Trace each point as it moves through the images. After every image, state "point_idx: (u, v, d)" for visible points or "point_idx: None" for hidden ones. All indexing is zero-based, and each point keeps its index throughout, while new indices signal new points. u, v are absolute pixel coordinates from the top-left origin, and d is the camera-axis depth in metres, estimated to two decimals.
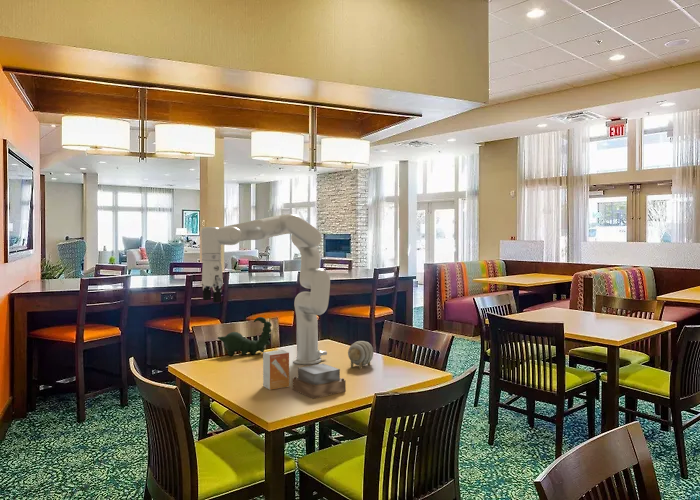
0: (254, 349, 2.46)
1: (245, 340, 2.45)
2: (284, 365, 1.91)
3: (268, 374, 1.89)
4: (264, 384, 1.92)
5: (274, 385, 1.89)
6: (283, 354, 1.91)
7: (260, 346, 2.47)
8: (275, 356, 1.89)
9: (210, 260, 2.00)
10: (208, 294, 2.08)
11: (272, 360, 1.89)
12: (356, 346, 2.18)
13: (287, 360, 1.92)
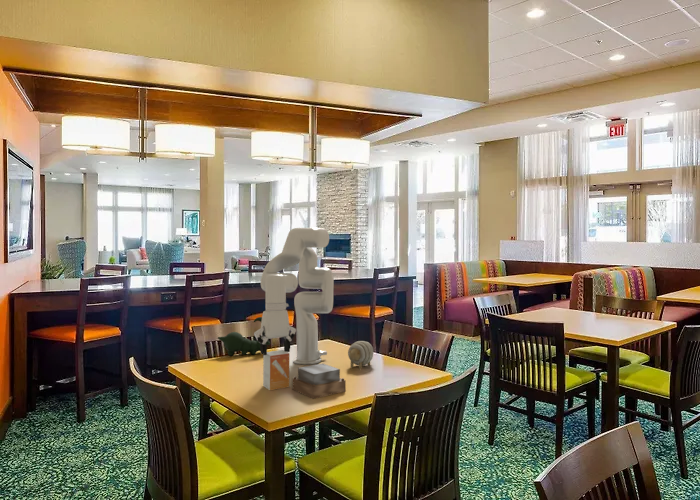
0: (254, 349, 2.46)
1: (245, 340, 2.45)
2: (284, 365, 1.91)
3: (268, 375, 1.89)
4: (264, 384, 1.92)
5: (274, 386, 1.89)
6: (283, 355, 1.91)
7: None
8: (275, 357, 1.89)
9: (285, 309, 1.93)
10: None
11: (273, 361, 1.88)
12: (356, 346, 2.18)
13: (287, 361, 1.92)
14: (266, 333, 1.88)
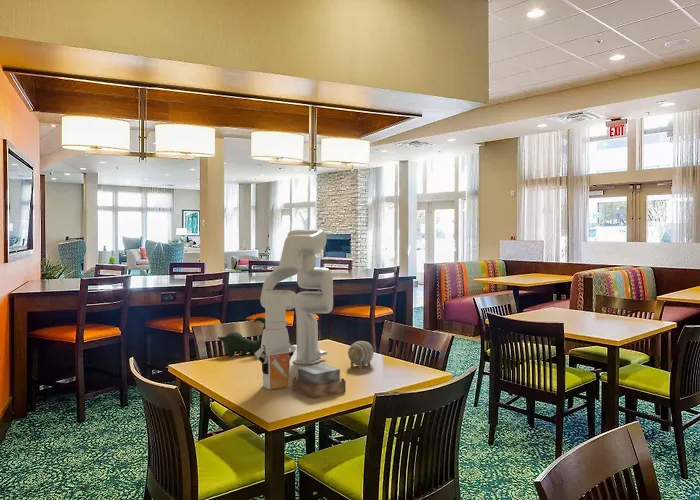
0: (254, 349, 2.46)
1: (245, 340, 2.45)
2: (284, 365, 1.92)
3: (268, 374, 1.89)
4: (264, 384, 1.92)
5: (274, 385, 1.89)
6: (283, 354, 1.91)
7: (260, 346, 2.47)
8: (275, 356, 1.89)
9: (285, 327, 1.93)
10: None
11: (272, 360, 1.89)
12: (356, 346, 2.18)
13: (287, 360, 1.92)
14: (266, 352, 1.88)
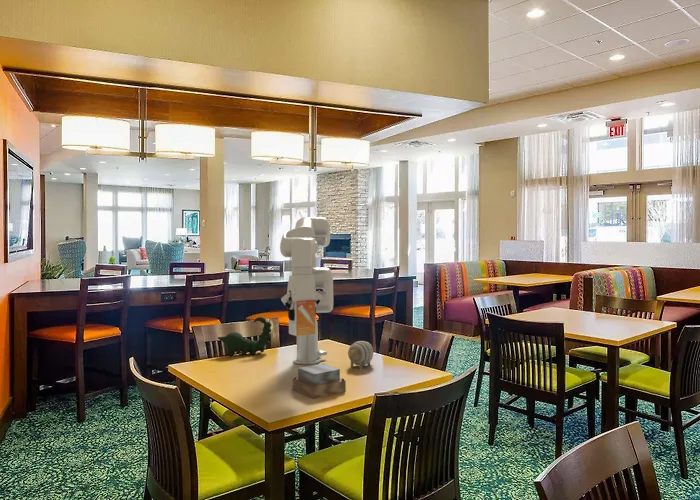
0: (254, 349, 2.46)
1: (245, 340, 2.45)
2: (310, 311, 1.88)
3: (294, 320, 1.85)
4: (290, 331, 1.89)
5: (301, 332, 1.86)
6: (309, 300, 1.87)
7: (260, 346, 2.47)
8: (301, 302, 1.85)
9: None
10: None
11: (299, 306, 1.85)
12: (356, 346, 2.18)
13: (313, 307, 1.88)
14: (293, 297, 1.85)
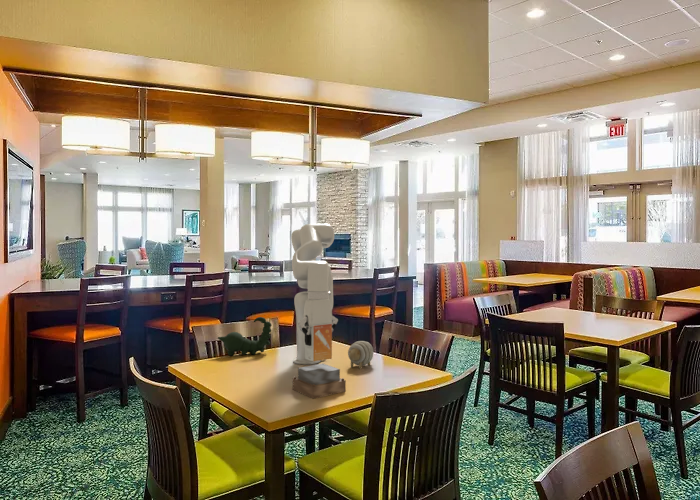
0: (254, 349, 2.46)
1: (245, 340, 2.45)
2: (327, 336, 1.86)
3: (311, 345, 1.83)
4: (306, 356, 1.87)
5: (318, 357, 1.84)
6: (326, 325, 1.86)
7: (260, 346, 2.47)
8: (318, 327, 1.84)
9: (328, 297, 1.88)
10: None
11: (316, 331, 1.83)
12: (356, 346, 2.18)
13: (330, 331, 1.87)
14: (309, 322, 1.83)
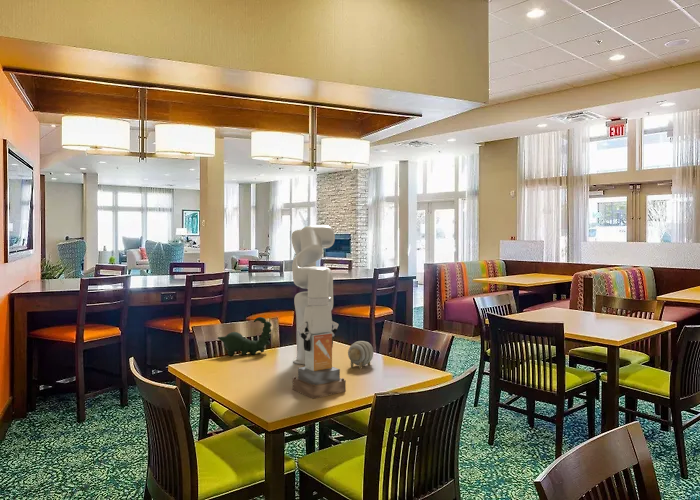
0: (254, 349, 2.46)
1: (245, 340, 2.45)
2: (327, 346, 1.86)
3: (312, 355, 1.84)
4: (306, 366, 1.87)
5: (318, 367, 1.84)
6: (326, 335, 1.86)
7: (260, 346, 2.47)
8: (319, 336, 1.84)
9: (328, 304, 1.88)
10: None
11: (316, 341, 1.84)
12: (356, 346, 2.18)
13: (330, 341, 1.87)
14: (309, 329, 1.83)
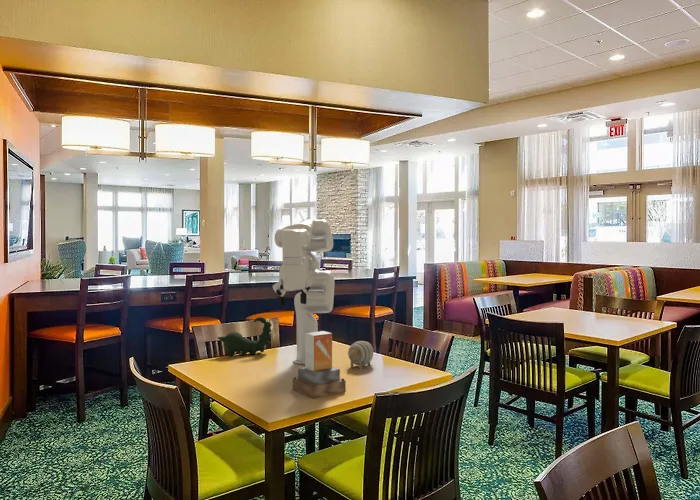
0: (254, 349, 2.46)
1: (245, 340, 2.45)
2: (327, 346, 1.86)
3: (312, 355, 1.84)
4: (306, 366, 1.87)
5: (318, 367, 1.84)
6: (326, 335, 1.86)
7: (260, 346, 2.47)
8: (319, 336, 1.84)
9: None
10: None
11: (316, 341, 1.84)
12: (356, 346, 2.18)
13: (330, 341, 1.87)
14: (284, 286, 1.96)
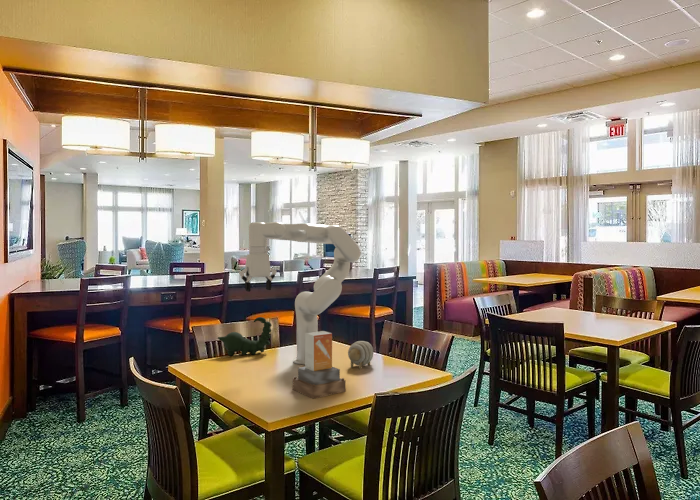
0: (254, 349, 2.46)
1: (245, 340, 2.45)
2: (327, 346, 1.86)
3: (312, 355, 1.84)
4: (306, 366, 1.87)
5: (318, 367, 1.84)
6: (326, 335, 1.86)
7: (260, 346, 2.47)
8: (318, 336, 1.84)
9: (266, 252, 2.21)
10: None
11: (316, 341, 1.84)
12: (356, 346, 2.18)
13: (330, 341, 1.87)
14: (249, 272, 2.17)
